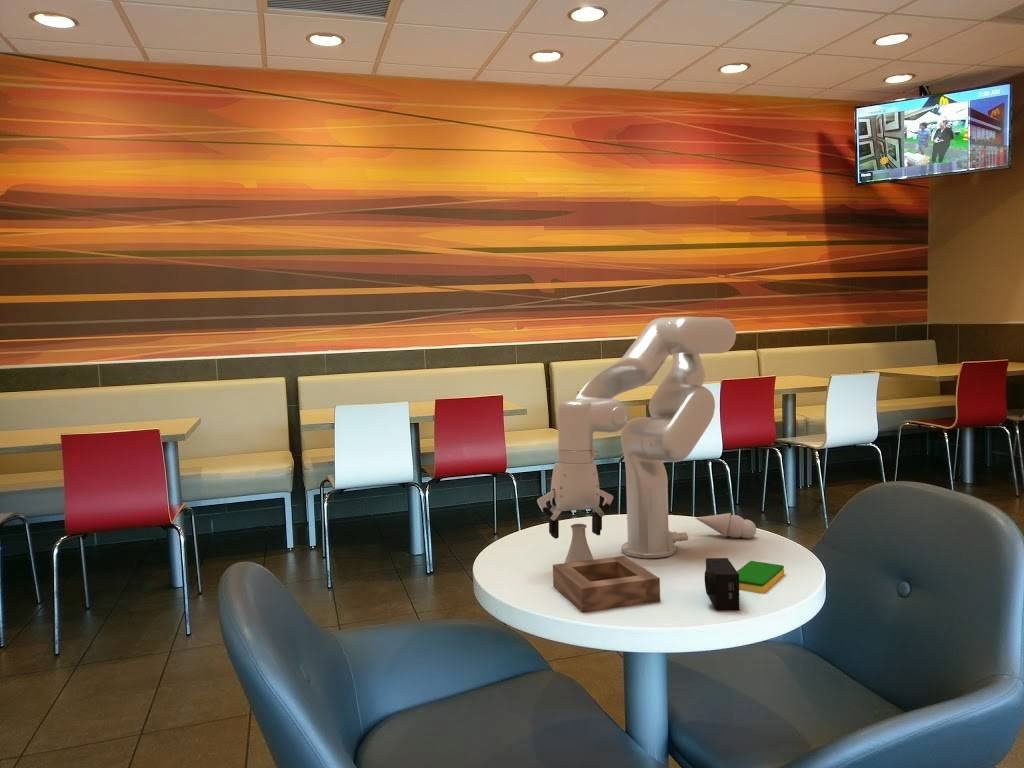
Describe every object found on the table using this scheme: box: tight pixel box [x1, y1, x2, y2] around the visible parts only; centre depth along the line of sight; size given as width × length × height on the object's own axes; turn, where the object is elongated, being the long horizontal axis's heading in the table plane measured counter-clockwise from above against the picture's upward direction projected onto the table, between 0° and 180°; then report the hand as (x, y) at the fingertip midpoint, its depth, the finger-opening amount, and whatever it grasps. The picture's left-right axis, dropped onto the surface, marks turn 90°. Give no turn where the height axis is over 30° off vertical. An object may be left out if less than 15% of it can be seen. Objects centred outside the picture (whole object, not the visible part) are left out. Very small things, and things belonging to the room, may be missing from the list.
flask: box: [564, 523, 595, 563], centre depth 167 cm, size 7×7×10 cm
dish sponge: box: [736, 560, 785, 594], centre depth 156 cm, size 7×14×2 cm, turn 144°
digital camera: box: [704, 557, 740, 612], centre depth 145 cm, size 10×5×7 cm, turn 176°
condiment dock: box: [552, 555, 661, 613], centre depth 151 cm, size 16×16×4 cm
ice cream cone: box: [695, 512, 757, 539], centre depth 189 cm, size 6×6×15 cm
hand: (575, 535), depth 166 cm, fingers open, 9 cm apart
